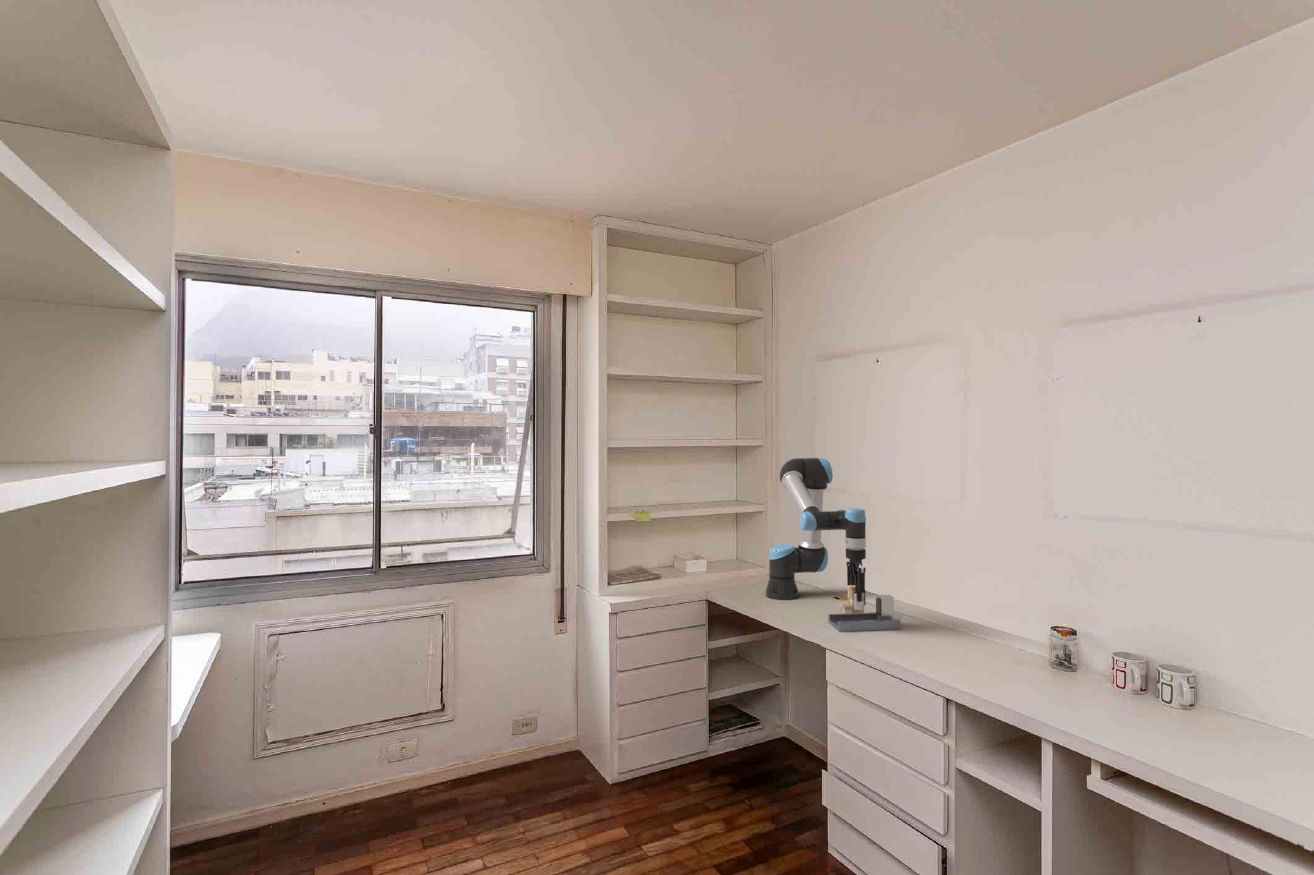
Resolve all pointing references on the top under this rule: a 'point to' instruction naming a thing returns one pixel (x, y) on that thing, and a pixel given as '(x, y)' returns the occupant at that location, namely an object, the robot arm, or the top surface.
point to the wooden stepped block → (852, 602)
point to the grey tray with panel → (869, 618)
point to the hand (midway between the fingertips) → (856, 607)
